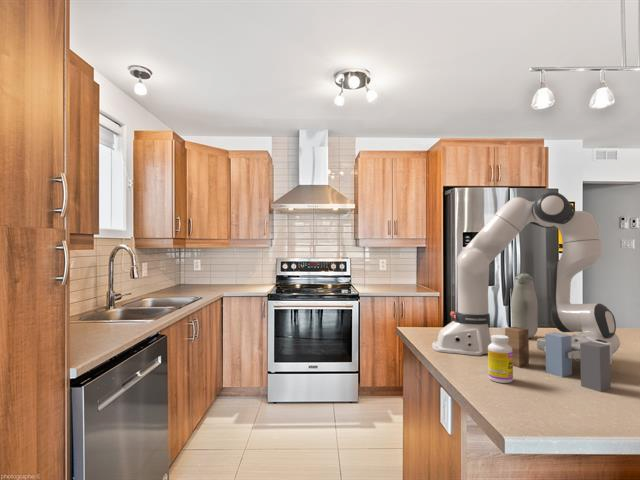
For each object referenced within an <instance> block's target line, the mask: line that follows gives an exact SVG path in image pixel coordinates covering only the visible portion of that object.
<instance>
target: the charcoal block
mask: <svg viewBox="0 0 640 480" xmlns="http://www.w3.org/2000/svg"><path fill="white" fill-rule="evenodd" d="M580 361H581V362H580ZM580 361H579V362H580V386H581V387H583V388H586V389H590V390H593V391H596V392H598V393H602V392H605V391H608V390H611V389H612V387H611V386H612V385H611V383H612V382H611V380H612V379H611V364H610V345H606V344H601V343H596V342H591V341H589V342H584V343H580Z"/></svg>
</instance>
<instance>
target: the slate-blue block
mask: <svg viewBox="0 0 640 480" xmlns="http://www.w3.org/2000/svg"><path fill="white" fill-rule="evenodd" d="M571 335H572V334H565V333H562V332H550V333H545V334H544V338H545V349H546V352H545V373H546V374H550V375H554V376H557V377H561V378H564V377H567V376H571V375H573V364H572V363H573V361H572V359H573V358H571V359H570V358H566V357H565V352H566V351H571Z"/></svg>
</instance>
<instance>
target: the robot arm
mask: <svg viewBox="0 0 640 480" xmlns="http://www.w3.org/2000/svg"><path fill="white" fill-rule="evenodd" d="M528 224H531V225H535V226H537V227H540V228H546V229H551V228H554V227H555V228H557V229H558V230H559V232H560V235H561V240H562V250H561V251H562V252H561V255H560V258H559V259H558V260H557V261H556V263H555V265H554V273H553V274H554V275H553V291H552V307H551V309H550V322H551V323H552V325H553V326H554V328H556V329H557V330H559V332H560V333H574V334H570V335H571V351H566V352H565V357H566V358H570V359H571V358H572V359H574V361H577V362H580V363H581V361H580V343H584V342H589V341H591V342H596V343H601V344H606V345H610V365H611V364H613V356H614V354H615V353H617V351H618V350H619V348H620V346H621V342H620V338H619V335H617V333H616V329H617V323H616V319H615V316H614V314H613V313H612V311H611V310H610V309H609V308H608V307H607V306H606V305H604V304H603V303H571V284H572V283H571V282H572V279H573V278H574V277H575V276H576V275H577V274H579V273H581V272H582V271H585V270H586V269H589V268H591V267H592V266H594V265H595V264H596V263H598V261H599V260H600V259H601V257H602V243H601V237H600V232H599V229H598V226H597V223H596V220H595V217H594V216H593V214H591V213H590V212H588V211H584V210H576V208H575V207H574V205H572V203H571V202H570V201H569V200H568V199H567V197H566V196H564V195H563V194H561V193H559V192H556V191H549V192H546V193H543V194H542V195H540V196H538V197H537V198H536V200H535V201H530V200H528V199H526V198H524V197H520V196H515V197H513V198H510V200H508V201H507V202H506V203H504V205H502V206H501V207H500V208H499V209H497V211H496V212H495V214H494V215H493V216H492V217H491V218H490V219H489V221H487V223H486V224H485V225H484V226H483V227H482V228H481V229H480V231H479V232H478V233H477V234H476V235H475V236H474V237H473V238H472V239H471V240H470V241H469V243H467V245H466V246H465V247H463V249H462V250H461V252H459V254H458V255H457V258H456V266H457V311H456V312H455V311H451V312H450V316H451V319H452V321H451V322H449V323H447V324H446V325H445V326H444V327H442V328H441V329H440V330H439V331H438V336H437V340H434V341H433V342H432V344H431V347H432V349H433V350H434V351H435V352H439V353H451V354H459V355H470V356H482V355H484V354H485V355H486V354H488V346H489V344H491V343H492V340H491V332H490V328H491V315H490V312H489V285H490V284H489V283H490V264H491V262H493V261H494V260H495V258H497V257H498V256H499V255H500V254H501V253H502V252H503V251H504V250H505V249H506V248H507V247H508V246H509V245H510V244H511V242H512V241H513V240H514V239H515V238H516V237H517V236H518V235H519V234H520V233H521V231H522V230H523V229H524V228H525V227H526V226H527V225H528ZM577 332H578V333H577ZM536 348H537V350H538V351H544V353H546V349H545V337H538V338H537V339H536Z"/></svg>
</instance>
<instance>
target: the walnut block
mask: <svg viewBox="0 0 640 480" xmlns="http://www.w3.org/2000/svg"><path fill="white" fill-rule="evenodd" d="M504 336H507V337H509V341H508V345H509V346H511V347H512V352H513V367H515V368H518V369H519V368H524V367H528V366H530V347H529V345H530V343H529V342H530V341H529V340H530V338H529V336H528V329H524V328H519V327H512V326H511V327H509V326H508V327H505V328H504Z"/></svg>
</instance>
